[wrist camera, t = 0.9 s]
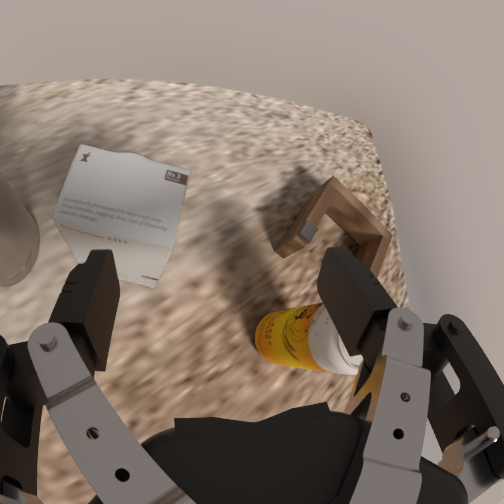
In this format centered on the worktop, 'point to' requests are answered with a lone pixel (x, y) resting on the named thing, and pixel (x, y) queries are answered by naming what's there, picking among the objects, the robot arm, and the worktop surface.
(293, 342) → the beer can
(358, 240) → the holder
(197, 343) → the worktop surface
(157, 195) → the skincare box
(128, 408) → the worktop surface
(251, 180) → the worktop surface
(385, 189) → the worktop surface
